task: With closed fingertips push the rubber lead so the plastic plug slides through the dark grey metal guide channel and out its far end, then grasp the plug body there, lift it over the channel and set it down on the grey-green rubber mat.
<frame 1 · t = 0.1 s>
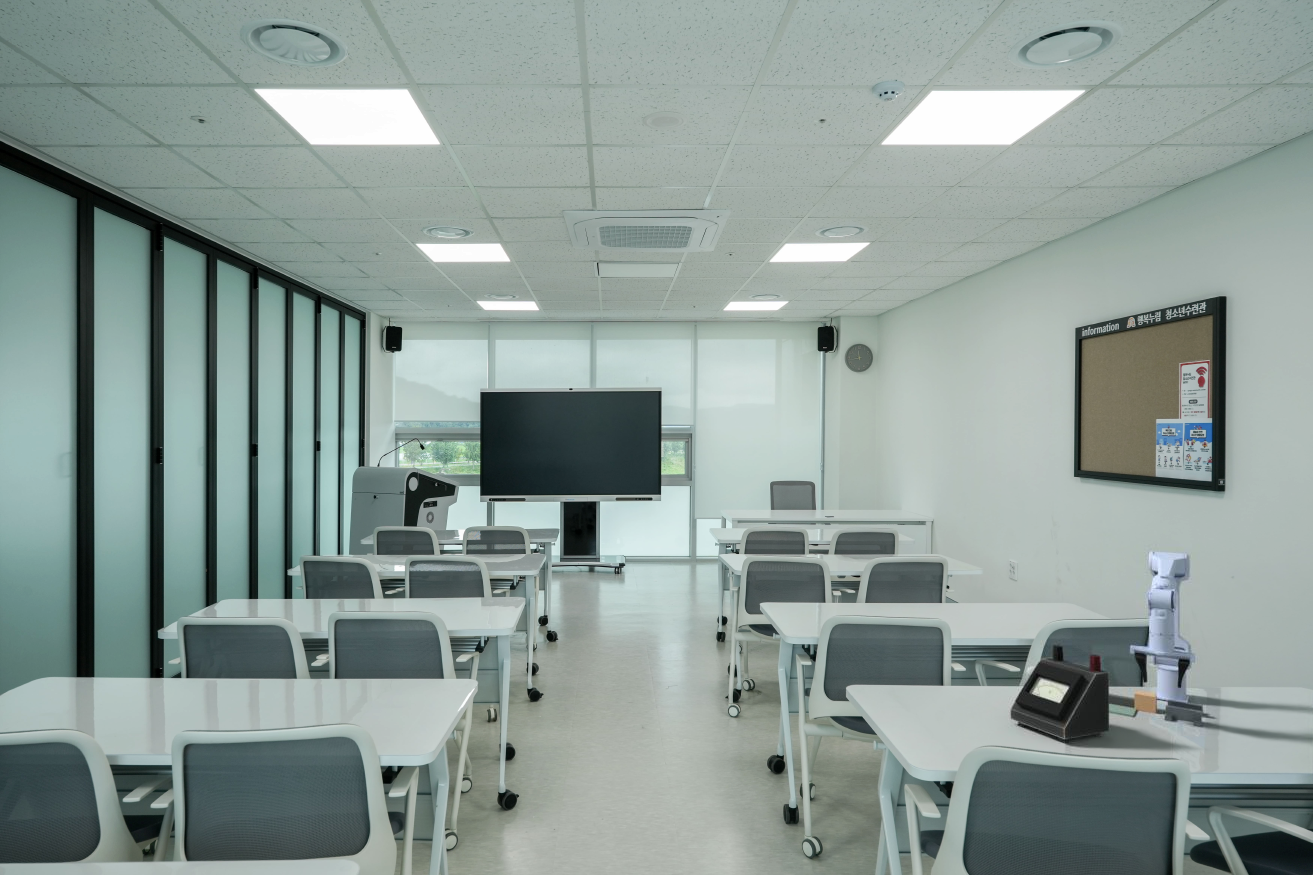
hand: (1162, 684, 204), 10 cm above the table, fingers open, 7 cm apart
molecular model: (1043, 708, 214), on the table
voltmeter: (1058, 731, 196), on the table
mat: (1118, 710, 213), on the table
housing: (1184, 716, 209), on the table
plug: (1145, 709, 214), on the table
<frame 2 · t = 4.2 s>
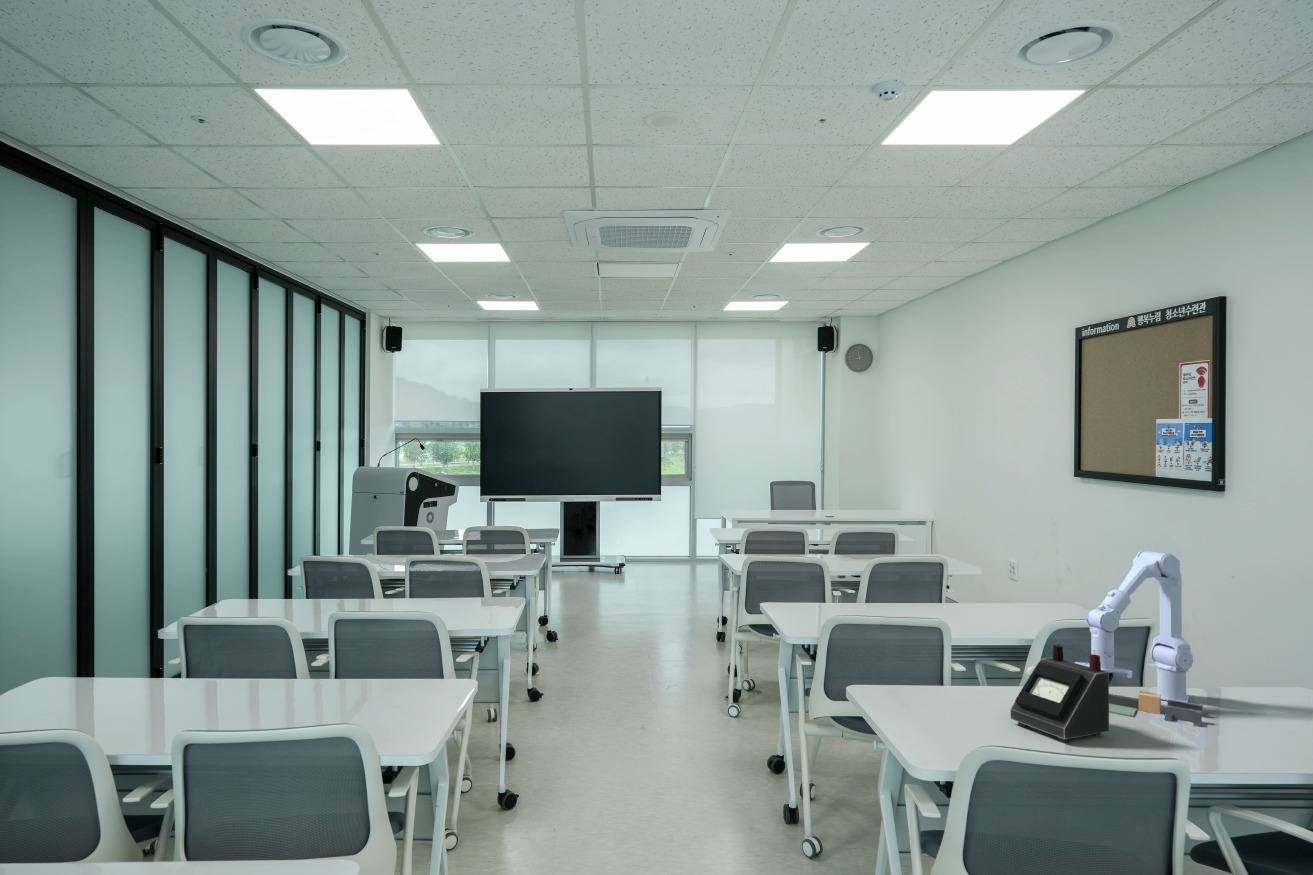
hand: (1102, 698, 221), 1 cm above the table, fingers closed
plug: (1149, 710, 214), on the table, touching gripper
everything else where it was.
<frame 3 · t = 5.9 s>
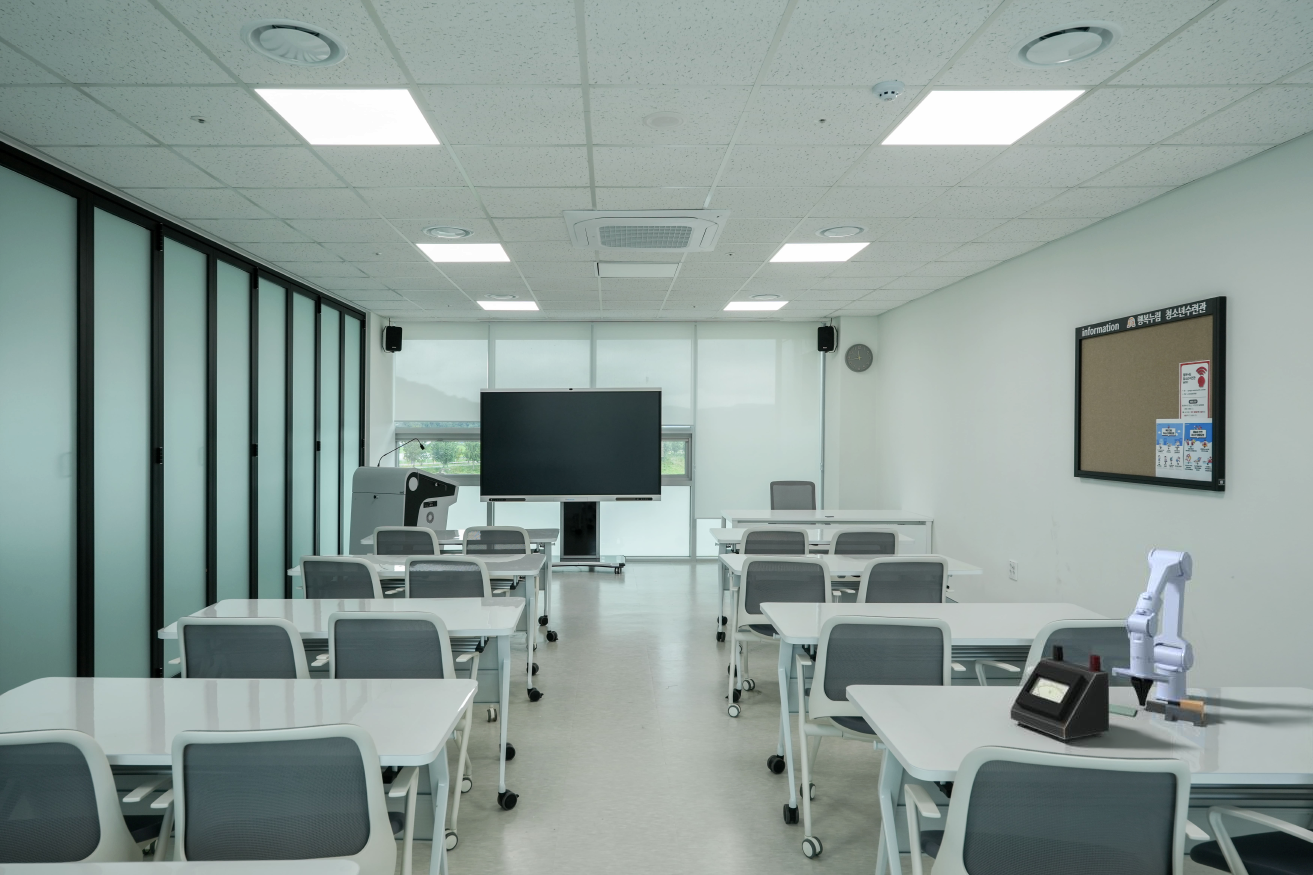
hand: (1142, 705, 215), 1 cm above the table, fingers closed
plug: (1192, 717, 208), on the table, touching gripper
everything else where it was.
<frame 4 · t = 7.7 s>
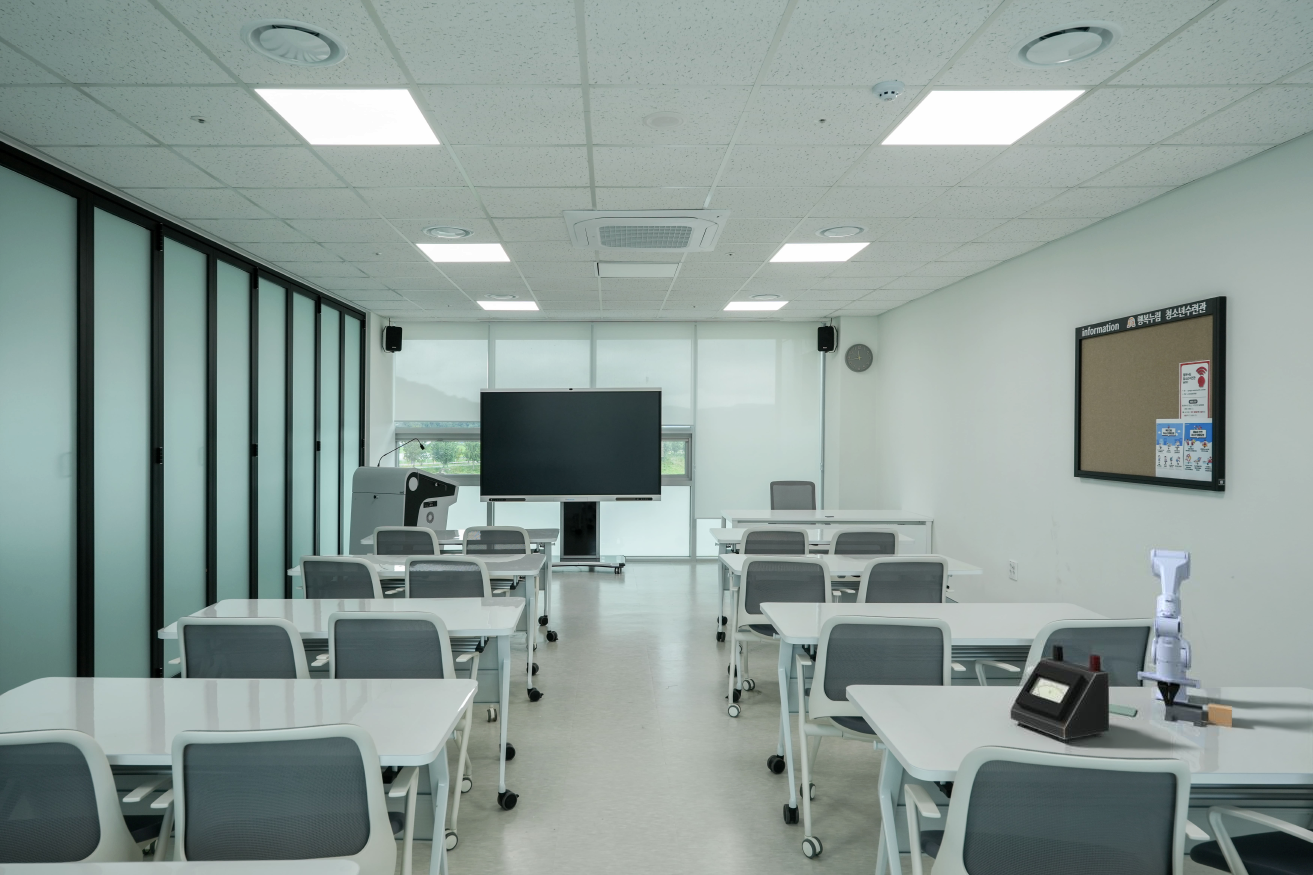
hand: (1168, 709, 211), 1 cm above the table, fingers closed
plug: (1220, 722, 204), on the table, touching gripper
everything else where it was.
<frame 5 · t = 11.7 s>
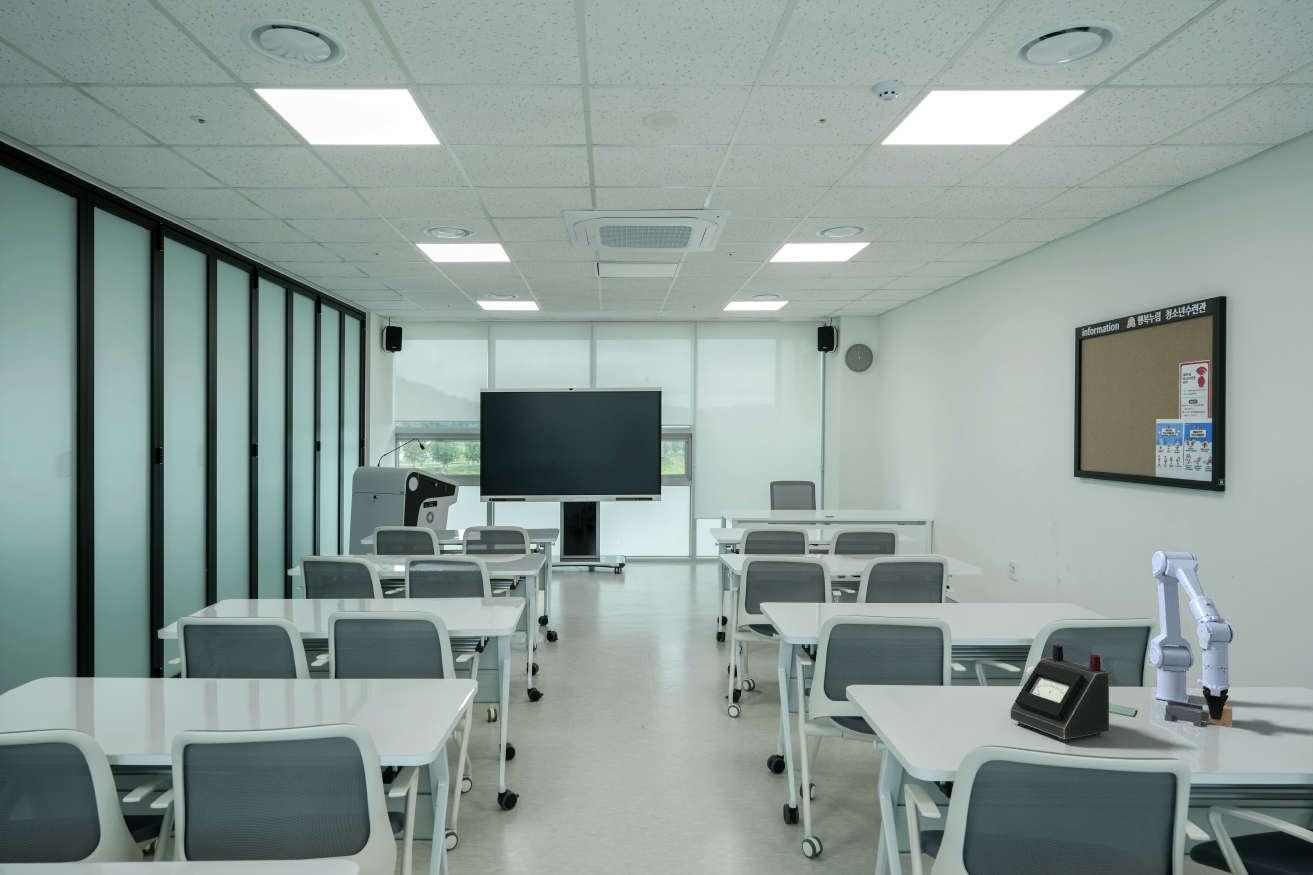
hand: (1215, 716, 205), 1 cm above the table, fingers closed on plug, 4 cm apart
plug: (1220, 722, 204), on the table, touching gripper
everything else where it was.
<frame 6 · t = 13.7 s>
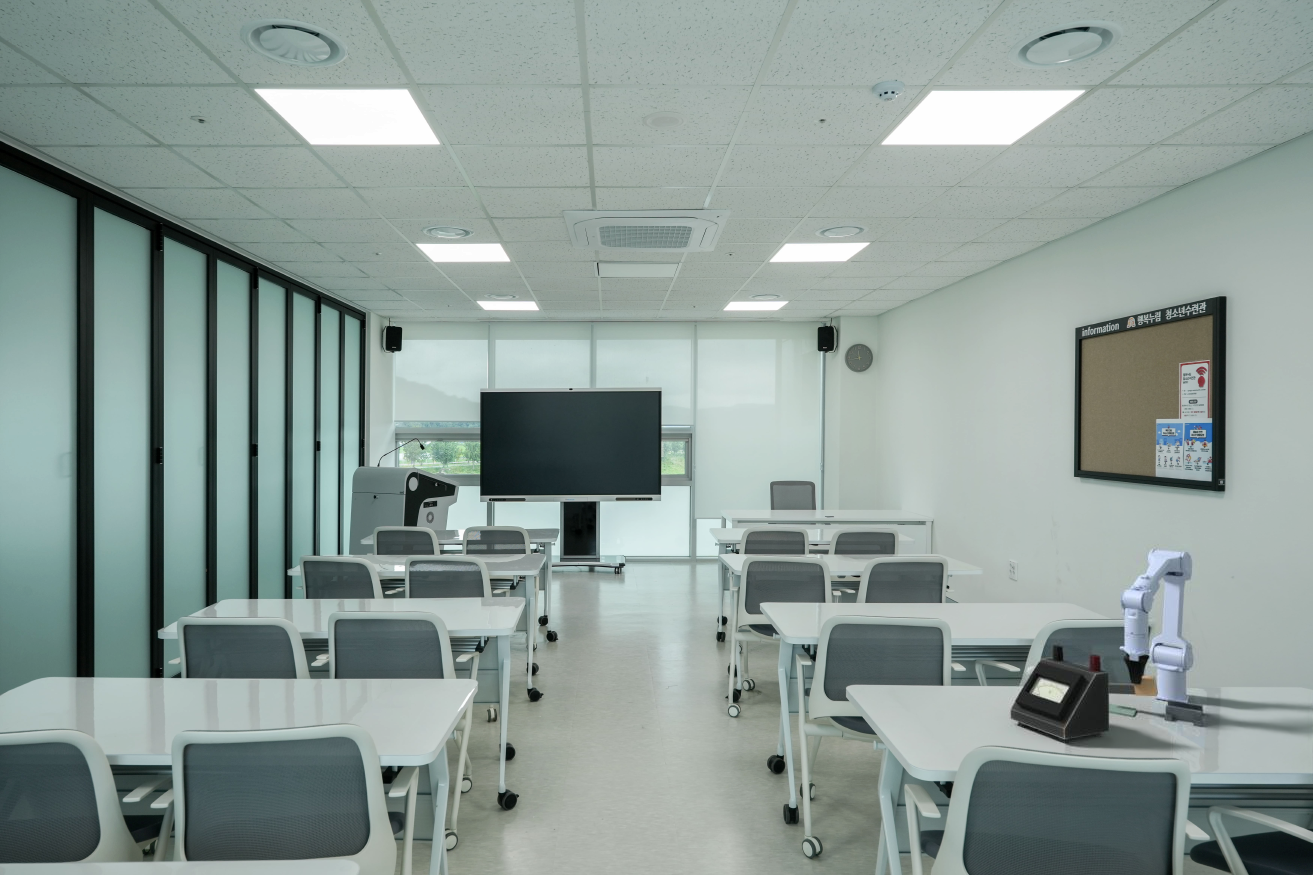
hand: (1136, 681, 212), 8 cm above the table, fingers closed on plug, 4 cm apart
plug: (1146, 693, 210), point 6 cm above the table, tilted 8°, touching gripper
everything else where it was.
when the fingers open (3 cm above the table, at t = 15.5 s): plug stays where it is, resting on mat.
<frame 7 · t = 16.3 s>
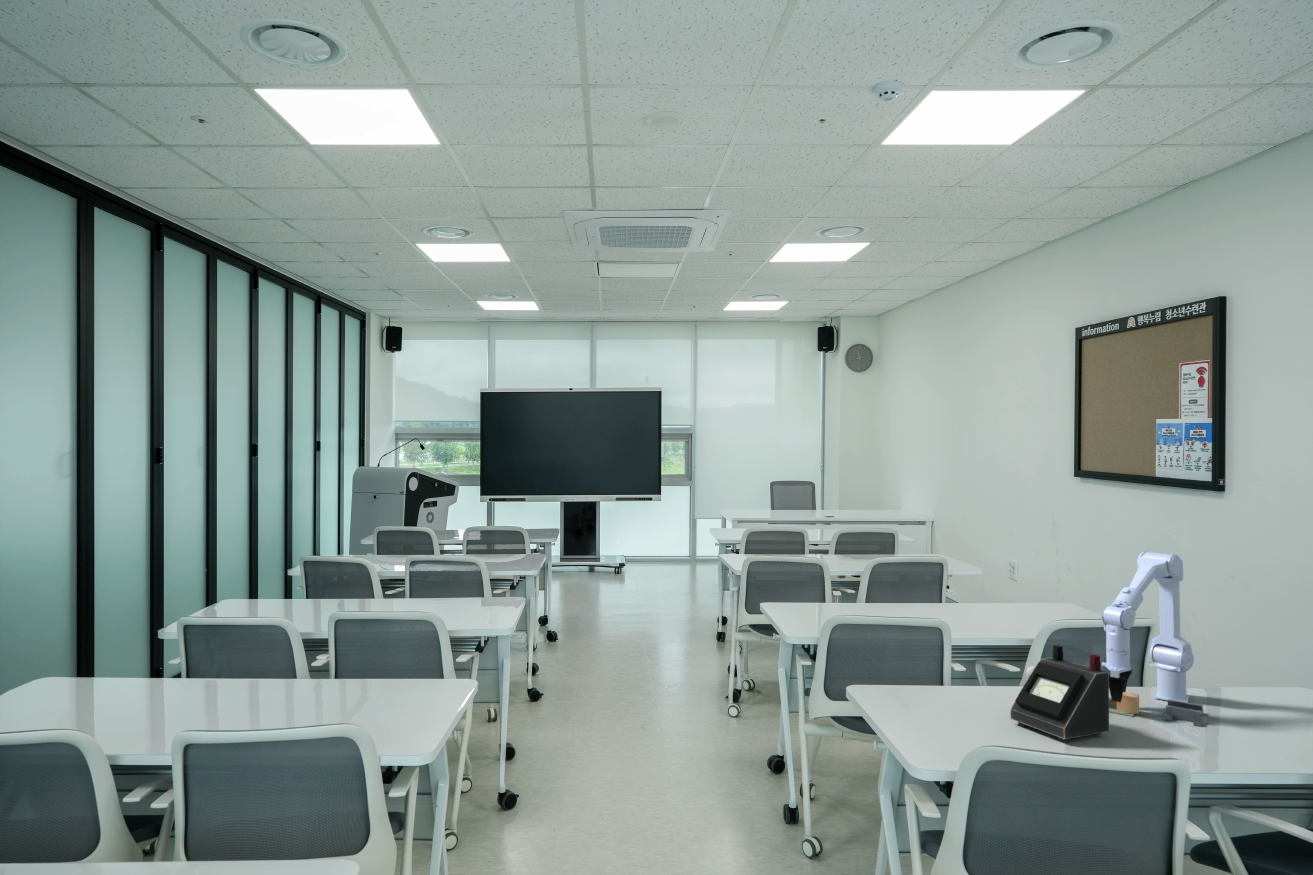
hand: (1118, 698, 213), 3 cm above the table, fingers open, 7 cm apart
plug: (1128, 710, 212), resting on mat
everything else where it was.
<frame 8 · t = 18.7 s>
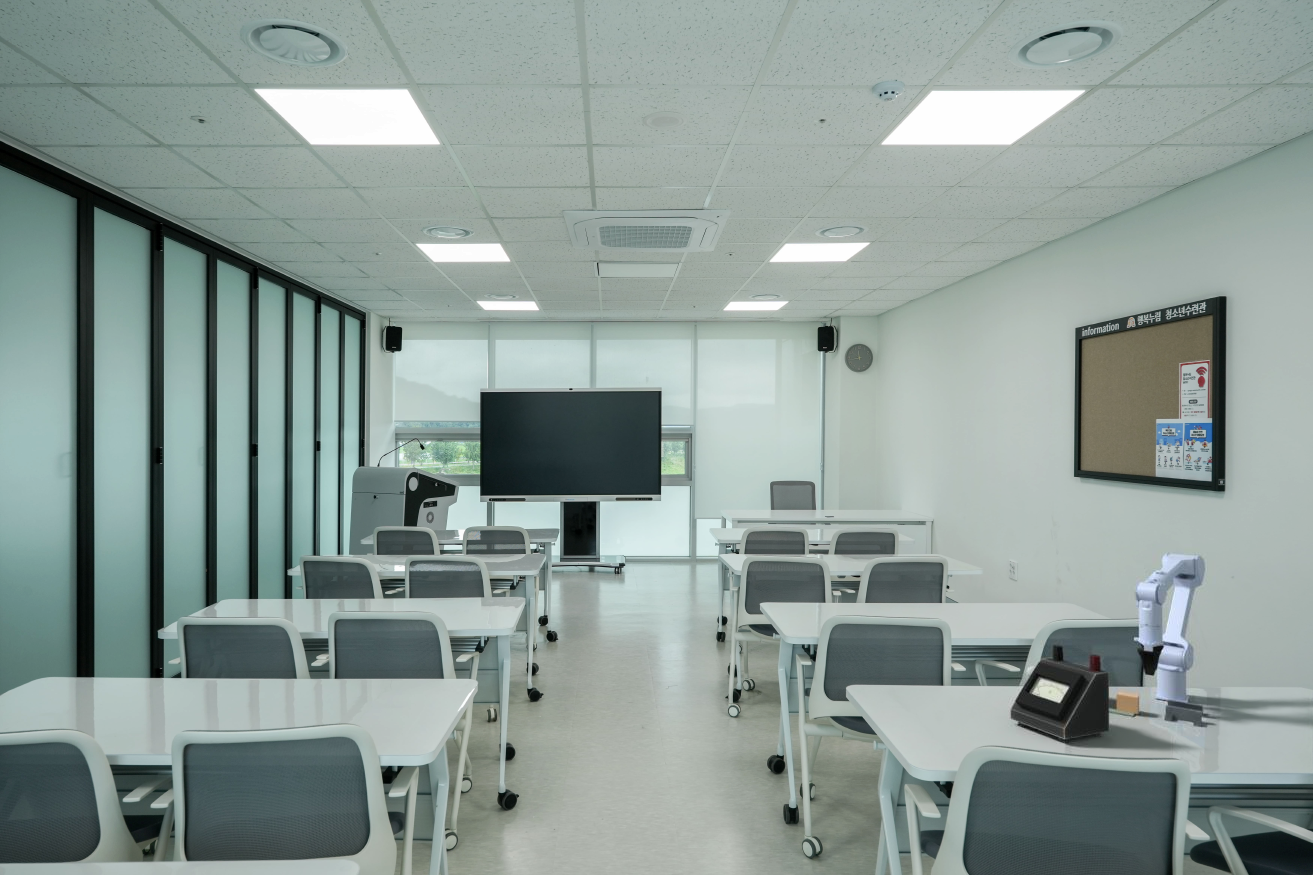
hand: (1150, 672, 217), 10 cm above the table, fingers open, 7 cm apart
nothing on the table moved.
at the end: plug inside the target area on the mat (2.3 cm from its centre), point 0.4 cm above the mat's base; plug tilted 0°; the gripper is holding nothing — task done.
